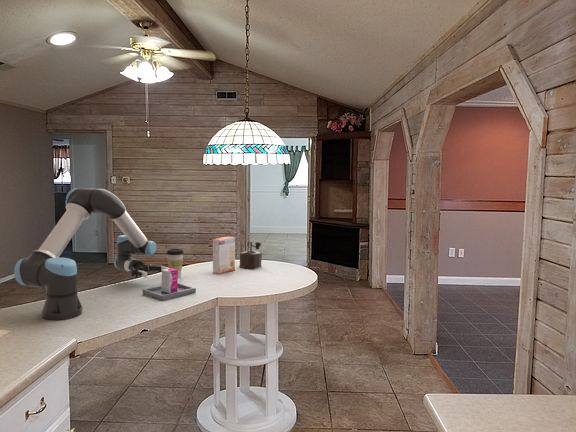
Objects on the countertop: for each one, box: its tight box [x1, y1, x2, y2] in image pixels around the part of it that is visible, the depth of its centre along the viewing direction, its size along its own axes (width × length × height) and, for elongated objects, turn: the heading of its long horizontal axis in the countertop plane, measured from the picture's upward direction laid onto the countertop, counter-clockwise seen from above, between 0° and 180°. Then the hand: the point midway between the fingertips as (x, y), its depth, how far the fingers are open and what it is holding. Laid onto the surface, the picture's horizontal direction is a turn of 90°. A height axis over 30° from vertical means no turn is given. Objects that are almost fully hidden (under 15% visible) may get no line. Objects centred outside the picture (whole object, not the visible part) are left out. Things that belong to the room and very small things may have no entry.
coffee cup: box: [165, 248, 185, 278], centre depth 263 cm, size 10×10×15 cm
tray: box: [142, 282, 197, 302], centre depth 227 cm, size 20×16×2 cm
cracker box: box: [212, 235, 236, 275], centre depth 276 cm, size 14×6×21 cm, turn 144°
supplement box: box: [160, 267, 179, 294], centre depth 227 cm, size 6×6×12 cm
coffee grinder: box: [239, 240, 263, 270], centre depth 290 cm, size 16×11×18 cm
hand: (158, 272), depth 232 cm, fingers open, 13 cm apart
